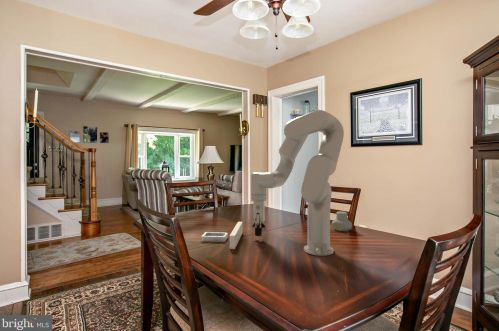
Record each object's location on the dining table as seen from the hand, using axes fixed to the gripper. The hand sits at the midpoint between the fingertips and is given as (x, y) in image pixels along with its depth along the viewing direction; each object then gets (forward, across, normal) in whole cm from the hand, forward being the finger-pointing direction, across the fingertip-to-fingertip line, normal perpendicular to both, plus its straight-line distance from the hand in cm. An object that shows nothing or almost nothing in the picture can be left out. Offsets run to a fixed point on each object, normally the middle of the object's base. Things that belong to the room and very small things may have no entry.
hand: (258, 233), depth 133 cm
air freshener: (+4, +24, -45) cm, 51 cm away
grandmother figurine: (+4, 0, 0) cm, 4 cm away
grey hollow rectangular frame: (+3, 0, +22) cm, 22 cm away
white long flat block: (+3, 0, +11) cm, 12 cm away
